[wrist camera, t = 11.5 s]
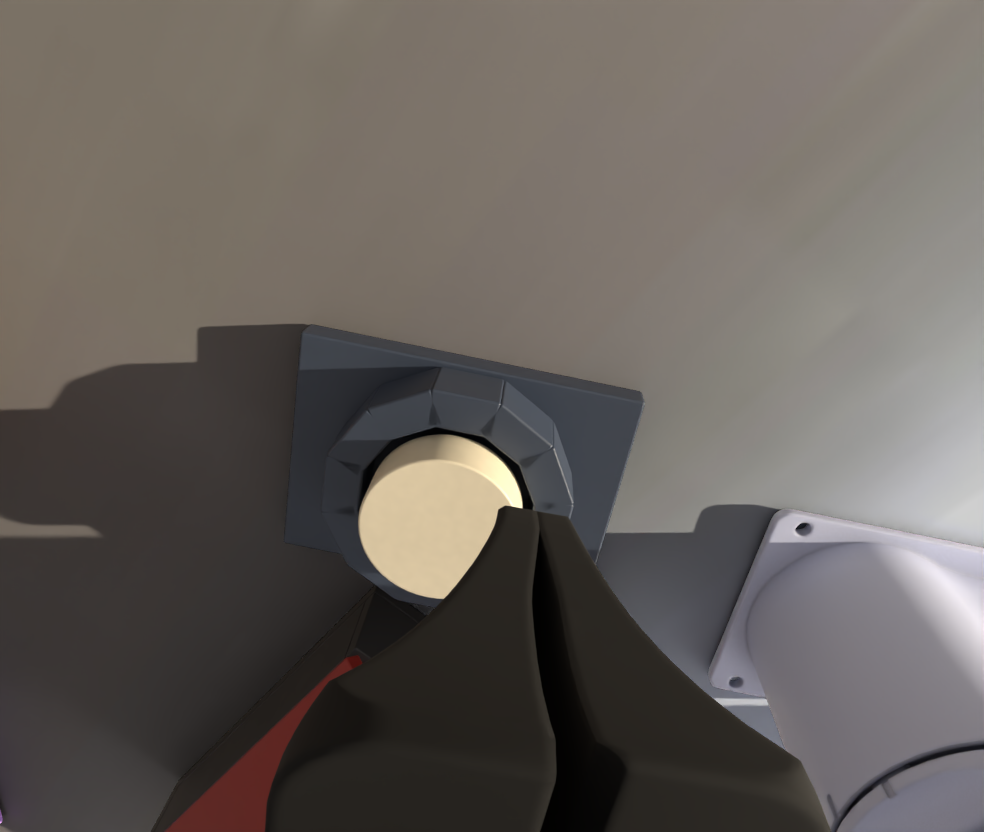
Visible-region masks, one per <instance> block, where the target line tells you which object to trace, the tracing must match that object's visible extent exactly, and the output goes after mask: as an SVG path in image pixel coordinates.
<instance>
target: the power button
mask: <svg viewBox="0 0 984 832" xmlns="http://www.w3.org/2000/svg"><path fill="white" fill-rule="evenodd" d="M505 505H506V506H512V507H517V508H523V501H522V494H521V490H520V486H519V483H518V481H517V479H516V477H515V475H514V473H513V472H512V470H511V469H510V467H509V466H508V465H507V464H506V463H505V461H504V460H503V459H502V458H501V457H499V456H498V455H497V454H496V453H495V452H493V451H492V450H491V449H489V448H488V447H486V446H484V445H482V444H480V443H479V442H476V441H474V440H471V439H468V438H464V437H461V436H455V435H444V434H437V435H428V436H423V437H419V438H416V439H413V440H410V441H408V442H406V443H404V444H402V445H400V446H399V447H397V448H396V449H394V450H393V451H392V452H391V453H390V454H389V455H388V456H386V457H385V459H384V460H383V461H382V463H381V464H380V465H379V467H378V469H377V471H376V472H375V475H374V477H373V479H372V481H371V483H370V485H369V488H368V490H367V492H366V494H365V496H364V498H363V501H362V504H361V506H360V511H359V515H358V530H359V536H360V540H361V544H362V546H363V549H364V551H365V553H366V555H367V557H368V559H369V560H370V562H371V563H372V564H373V566H374V567H375V568H376V569H377V570H378V571H379V572H380V573H381V574H382V575H383V576H384V577H385V578H386V579H388V580H389V581H390V582H392V583H393V584H395V585H396V586H398V587H400V588H402V589H404V590H406V591H408V592H411V593H414V594H416V595H420V596H424V597H429V598H436V599H444V598H445V597H446V596H447V595H448V594H449V593H450V592H451V590H452V589H453V588H454V587H455V586H456V585H457V583H458V582H459V581H460V579H461V578H462V577H463V576H464V574H465V573H466V572H467V570H468V569H469V568H470V566H471V565H472V564H473V562H474V561H475V559H476V558H477V556H478V555H479V553H480V551H481V550H482V548H483V546H484V545H485V543H486V542H487V540H488V538H489V536H490V534H491V532H492V530H493V528H494V525H495V523H496V518H497V513H498V509H500V508H501V507H503V506H505Z"/></svg>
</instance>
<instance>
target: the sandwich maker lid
mask: <svg viewBox="0 0 984 832" xmlns="http://www.w3.org/2000/svg"><path fill="white" fill-rule="evenodd" d="M361 664H362V661H361V659H360V657H359V656H358V655H356V656H351V657H347V658H345V659H344V660H343V661H342V662H341V663H340V664H339V665H338V666H337V667H336V668H335V669H334V670H333V671H332V672H331V673H330V674H329V675H328V676H326V677H325V678H324V679H323V680H322V681H321V682H320V683H319V684H318V685H317V686H316V687H315V688H314V689H313V690H312V691H311V692H310V693H309V694H308V695H307V696H306V697H305V698H303V699H302V700H301V701H300V702H299V703H298V704H297V705H296V706H295V707H294V708H293V709H292V710H291V711H290V712H289V713H288V714H287V715H286V716H285V717H284V718H283V719H282V720H281V721H279V722H278V723H277V724H276V725H275V726H274V727H273V728H272V729H271V730H270V731H269V732H268V733H267V734H266V735H265V736H264V737H263V738H262V739H261V740H260V741H259V742H258V743H257V744H255V745H254V746H253V747H252V748H251V749H250V750H249V751H248V752H247V753H246V754H245V755H244V756H243V757H242V758H241V759H240V760H239V761H238V762H237V763H236V764H235V765H234V766H232V767H231V768H230V769H229V770H228V771H227V772H226V773H225V774H224V775H223V776H222V777H221V778H220V779H219V780H218V781H217V782H216V783H215V784H214V785H213V786H212V787H211V788H210V789H208V790H207V791H206V792H205V793H204V794H203V795H202V796H201V797H200V798H199V799H198V800H197V801H196V802H195V803H194V804H193V805H192V806H191V807H190V808H189V809H188V810H187V811H185V812H184V813H183V814H182V815H181V816H180V817H179V818H178V819H177V820H176V821H175V822H174V823H173V824H172V825H171V826H170V827H169V828H168V829H167V830H166V831H165V832H265V822H266V806H267V800H268V796H269V792H270V788H271V785H272V782H273V779H274V776H275V774H276V771H277V768H278V766H279V763H280V760H281V758H282V755H283V753H284V751H285V749H286V747H287V745H288V743H289V741H290V739H291V737H292V735H293V733H294V732H295V730H296V728H297V727H298V725H299V723H300V721H301V720H302V718H303V717H304V715H305V714H306V712H307V711H308V709H309V708H310V706H311V705H312V703H313V702H314V701H315V699H316V698H317V696H318V695H319V694H320V692H321V691H322V690H323V688H324V687H325V686H326V684H327V683H328V682H329V681H330V680H332V679H334V678H336V677H338V676H340V675H342V674H344V673H346V672H348V671H349V670H351V669H353V668H355V667H357V666H359V665H361Z"/></svg>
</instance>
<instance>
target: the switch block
mask: <svg viewBox="0 0 984 832" xmlns="http://www.w3.org/2000/svg"><path fill="white" fill-rule="evenodd" d="M644 405H645V402H644V399H643V396H642V393H641V392H640V391H635V390H630V389H625V388H621V387H616V386H611V385H606V384H601V383H596V382H591V381H586V380H581V379H576V378H572V377H567V376H562V375H557V374H552V373H547V372H542V371H537V370H532V369H528V368H523V367H518V366H513V365H508V364H503V363H498V362H493V361H488V360H483V359H479V358H474V357H469V356H464V355H459V354H454V353H449V352H444V351H439V350H434V349H430V348H425V347H420V346H415V345H410V344H405V343H400V342H395V341H390V340H386V339H381V338H376V337H371V336H366V335H361V334H356V333H351V332H346V331H341V330H337V329H332V328H327V327H322V326H317V325H312V324H311V325H309V326H308V327H307V328H306V329H305V330H304V331H303V332H302V333H301V338H300V350H299V362H298V374H297V386H296V399H295V411H294V423H293V435H292V447H291V459H290V472H289V484H288V496H287V508H286V520H285V532H284V542H285V543H289V544H294V545H299V546H304V547H309V548H314V549H319V550H324V551H329V552H334V553H339V554H342V556H343V558H344V560H345V562H346V563H347V565H348V566H350V567H351V568H352V569H354V570H355V571H357V572H358V573H359V574H361V575H362V576H364V577H365V578H366V579H368V580H369V581H371V582H372V583H373V584H375V585H376V586H377V587H379V588H380V589H382V590H383V591H384V592H386V593H387V594H389V595H390V596H391V597H393V598H394V599H397V600H400V601H405V602H410V603H415V604H420V605H425V606H430V607H435V608H436V606H437V605H438V604H439V603H440V602H441V601H442V600H443V599H436V598H429V597H424V596H420V595H416V594H414V593H411V592H408V591H406V590H404V589H402V588H400V587H398V586H396V585H395V584H393V583H392V582H390V581H389V580H388V579H386V578H385V577H384V576H383V575H382V574H381V573H380V572H379V571H378V570H377V569H376V568H375V567H374V566H373V564H372V563H371V562H370V560H369V559H368V557H367V555H366V553H365V551H364V549H363V546H362V544H361V540H360V536H359V530H358V515H359V511H360V506H361V504H362V501H363V498H364V496H365V494H366V492H367V490H368V488H369V485H370V483H371V481H372V479H373V477H374V475H375V472H376V471H377V469H378V467H379V465H380V464H381V463H382V461H383V460H384V459H385V457H386V456H388V455H389V454H390V453H391V452H392V451H393V450H394V449H396V448H397V447H399V446H400V445H402V444H404V443H406V442H408V441H410V440H413V439H416V438H419V437H423V436H428V435H437V434H444V435H455V436H461V437H464V438H468V439H471V440H474V441H476V442H479V443H480V444H482V445H484V446H486V447H488V448H489V449H491V450H492V451H493V452H495V453H496V454H497V455H498V456H499V457H501V458H502V459H503V460H504V461H505V463H506V464H507V465H508V466H509V467H510V469H511V470H512V472H513V473H514V475H515V477H516V479H517V481H518V483H519V486H520V490H521V494H522V501H523V509H528V510H534V511H539V512H545V513H550V514H556V515H561V516H567V517H568V518H569V519H570V521H571V522H572V524H573V526H574V528H575V529H576V531H577V533H578V535H579V537H580V539H581V540H582V542H583V544H584V546H585V548H586V549H587V551H588V553H589V555H590V556H591V558H592V560H593V561H594V563H595V565H596V563H597V560H598V556H599V553H600V550H601V546H602V543H603V540H604V537H605V533H606V530H607V527H608V523H609V520H610V517H611V514H612V510H613V507H614V504H615V501H616V497H617V494H618V491H619V487H620V484H621V481H622V478H623V474H624V471H625V468H626V464H627V461H628V458H629V455H630V451H631V448H632V445H633V442H634V438H635V435H636V432H637V428H638V425H639V422H640V419H641V415H642V412H643V409H644Z"/></svg>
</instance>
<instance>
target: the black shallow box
mask: <svg viewBox="0 0 984 832" xmlns="http://www.w3.org/2000/svg"><path fill="white" fill-rule="evenodd" d="M425 617H426V616H424V615H423V614H422V613H420V612H419V611H417V610H416V609H415V608H413V607H412V606H410V605H409V604H408V603H406V602H405V601H400V600H397V599H394V598H393V597H391V596H390V595H389V594H387V593H386V592H384V591H383V590H382V589H380V588H379V587H377V586H376V585H375V586H374V587H373V588H372V589H371V590H370V591H369V592H368V593H367V594H366V595H365V596H364V597H363V598H362V599H361V600H360V601H359V602H358V603H357V604H356V605H355V606H354V607H353V608H352V609H351V610H350V611H349V612H348V613H347V614H346V615H345V616H344V617H343V618H342V619H341V620H340V621H339V622H338V623H337V624H336V625H335V626H334V627H333V628H332V629H331V630H330V631H329V632H328V633H327V634H326V635H325V636H324V637H323V638H322V639H321V640H320V641H319V642H318V643H317V644H316V645H315V646H314V647H313V648H312V649H311V650H310V651H309V652H308V653H307V654H306V655H305V656H304V657H303V658H302V659H301V660H300V661H299V662H298V663H297V664H296V665H295V666H294V667H293V668H292V669H291V670H290V671H289V672H288V673H287V674H285V675H284V676H283V677H282V678H281V679H280V680H279V681H278V682H277V683H276V684H275V685H274V686H273V687H272V688H271V689H270V690H269V691H268V692H267V693H266V694H265V695H264V696H263V697H262V698H261V699H260V700H259V701H258V702H257V703H256V704H255V705H254V706H253V707H252V708H251V709H250V710H249V711H248V712H247V713H246V714H245V715H244V716H243V717H242V718H241V719H240V720H239V721H238V722H237V723H236V724H235V725H234V726H233V727H232V728H231V729H230V730H229V731H228V732H227V733H226V734H225V735H224V736H223V737H222V738H221V739H220V740H219V741H218V742H217V743H216V744H215V745H214V746H213V747H212V748H211V749H210V750H209V751H208V752H207V753H206V754H205V755H204V756H203V757H202V758H201V759H200V760H199V761H198V762H197V763H196V764H195V765H194V766H193V767H192V768H191V769H190V770H189V771H188V772H187V773H186V774H185V775H184V776H183V777H182V778H181V779H180V780H179V781H178V783H177V785H176V786H175V788H174V791H173V792H172V794H171V795H170V797H169V799H168V801H167V803H166V805H165V807H164V808H163V810H162V812H161V814H160V816H159V818H158V819H157V821H156V823H155V825H154V827H153V829H152V831H151V832H165V831H166V830H167V829H168V828H169V827H170V826H171V825H172V824H173V823H174V822H175V821H176V820H177V819H178V818H179V817H180V816H181V815H182V814H183V813H184V812H185V811H187V810H188V809H189V808H190V807H191V806H192V805H193V804H194V803H195V802H196V801H197V800H198V799H199V798H200V797H201V796H202V795H203V794H204V793H205V792H206V791H207V790H208V789H210V788H211V787H212V786H213V785H214V784H215V783H216V782H217V781H218V780H219V779H220V778H221V777H222V776H223V775H224V774H225V773H226V772H227V771H228V770H229V769H230V768H231V767H232V766H234V765H235V764H236V763H237V762H238V761H239V760H240V759H241V758H242V757H243V756H244V755H245V754H246V753H247V752H248V751H249V750H250V749H251V748H252V747H253V746H254V745H255V744H257V743H258V742H259V741H260V740H261V739H262V738H263V737H264V736H265V735H266V734H267V733H268V732H269V731H270V730H271V729H272V728H273V727H274V726H275V725H276V724H277V723H278V722H279V721H281V720H282V719H283V718H284V717H285V716H286V715H287V714H288V713H289V712H290V711H291V710H292V709H293V708H294V707H295V706H296V705H297V704H298V703H299V702H300V701H301V700H302V699H303V698H305V697H306V696H307V695H308V694H309V693H310V692H311V691H312V690H313V689H314V688H315V687H316V686H317V685H318V684H319V683H320V682H321V681H322V680H323V679H324V678H325V677H326V676H328V675H329V674H330V673H331V672H332V671H333V670H334V669H335V668H336V667H337V666H338V665H339V664H340V663H341V662H342V661H343V660H344V659H345V658H347V657H351V656H356V655H358V656H359V657H360V659H361V661H362V663H364V662H366V661H368V660H369V659H371V658H372V657H374V656H375V655H377V654H378V653H380V652H381V651H383V650H384V649H385V648H387V647H388V646H390V645H391V644H393V643H394V642H395V641H397V640H398V639H400V638H401V637H403V636H404V635H405V634H406V633H408V632H409V631H410V630H411V629H412V628H414V627H415V626H416V625H417V624H418V623H419V622H420V621H422V620H423V619H424V618H425Z"/></svg>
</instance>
